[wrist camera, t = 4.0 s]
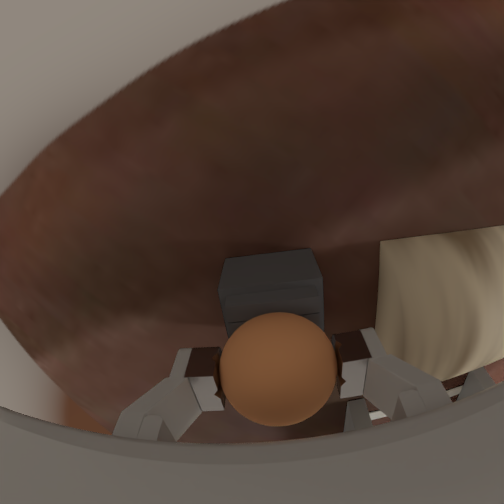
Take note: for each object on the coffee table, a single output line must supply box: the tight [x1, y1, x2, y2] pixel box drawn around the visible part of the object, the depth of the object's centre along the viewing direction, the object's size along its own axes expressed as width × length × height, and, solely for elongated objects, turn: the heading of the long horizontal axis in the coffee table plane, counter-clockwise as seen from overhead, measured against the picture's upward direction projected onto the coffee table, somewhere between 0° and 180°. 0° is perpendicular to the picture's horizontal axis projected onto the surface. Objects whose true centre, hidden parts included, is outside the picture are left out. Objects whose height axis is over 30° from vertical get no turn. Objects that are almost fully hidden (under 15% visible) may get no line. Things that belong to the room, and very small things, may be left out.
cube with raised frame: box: [218, 248, 324, 339], centre depth 13 cm, size 4×4×4 cm
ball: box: [219, 312, 337, 426], centre depth 10 cm, size 4×4×4 cm
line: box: [369, 385, 463, 420], centre depth 19 cm, size 9×1×1 cm, turn 98°
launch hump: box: [375, 225, 504, 381], centre depth 16 cm, size 9×10×10 cm
